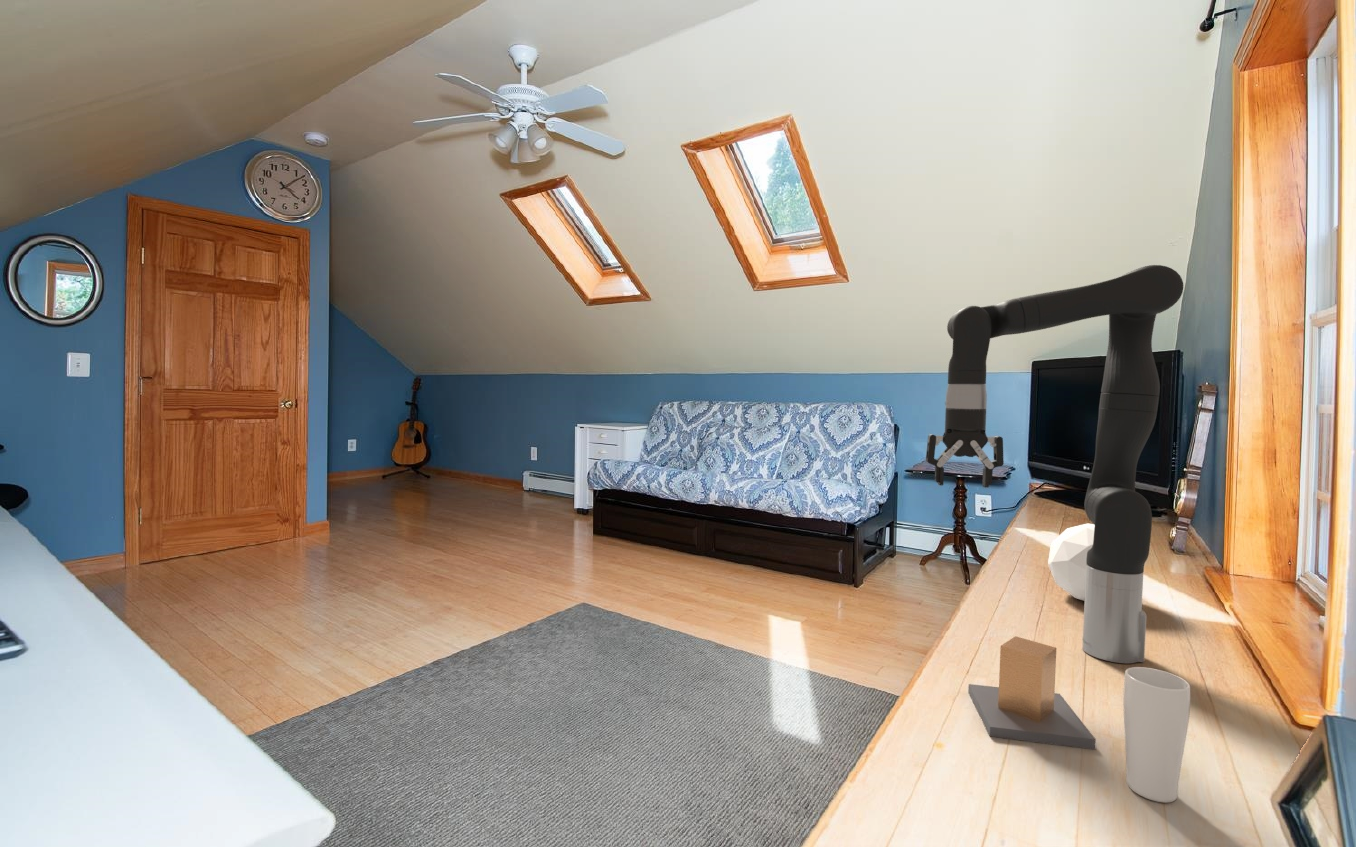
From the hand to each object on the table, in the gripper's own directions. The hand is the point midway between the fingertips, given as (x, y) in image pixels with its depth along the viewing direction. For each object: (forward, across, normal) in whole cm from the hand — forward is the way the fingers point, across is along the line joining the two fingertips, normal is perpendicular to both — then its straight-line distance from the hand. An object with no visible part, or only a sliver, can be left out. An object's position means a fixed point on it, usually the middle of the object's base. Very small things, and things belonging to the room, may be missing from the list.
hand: (962, 486), depth 128 cm
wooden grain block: (+31, +4, -31) cm, 44 cm away
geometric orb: (+32, +38, +35) cm, 61 cm away
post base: (+32, +4, -31) cm, 45 cm away
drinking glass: (+32, +14, -47) cm, 59 cm away
